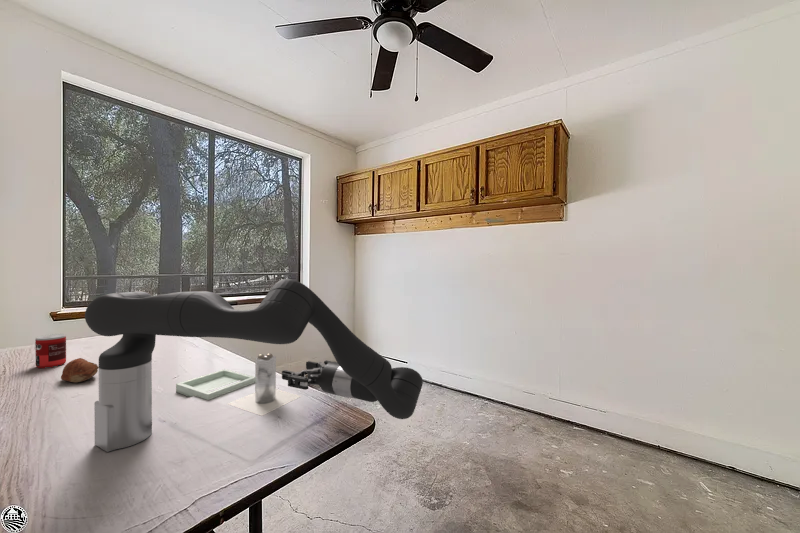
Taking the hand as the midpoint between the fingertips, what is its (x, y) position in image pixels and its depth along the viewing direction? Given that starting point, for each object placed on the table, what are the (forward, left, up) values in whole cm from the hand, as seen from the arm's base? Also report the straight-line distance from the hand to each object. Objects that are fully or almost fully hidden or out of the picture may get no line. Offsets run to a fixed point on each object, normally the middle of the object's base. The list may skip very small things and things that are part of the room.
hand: (295, 369), depth 88 cm
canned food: (-17, +108, -12) cm, 109 cm away
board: (0, +12, -12) cm, 16 cm away
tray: (0, +34, -12) cm, 35 cm away
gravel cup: (0, +12, -11) cm, 16 cm away
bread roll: (-18, +80, -12) cm, 82 cm away
